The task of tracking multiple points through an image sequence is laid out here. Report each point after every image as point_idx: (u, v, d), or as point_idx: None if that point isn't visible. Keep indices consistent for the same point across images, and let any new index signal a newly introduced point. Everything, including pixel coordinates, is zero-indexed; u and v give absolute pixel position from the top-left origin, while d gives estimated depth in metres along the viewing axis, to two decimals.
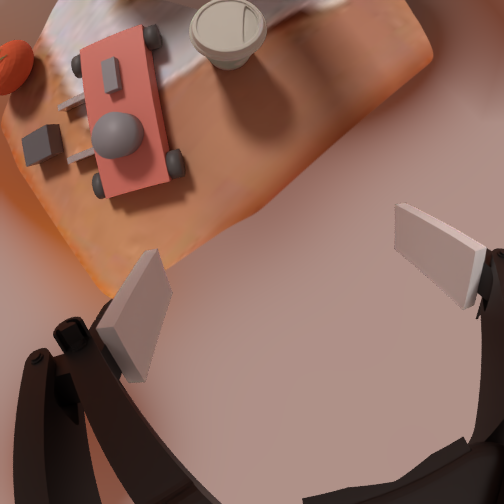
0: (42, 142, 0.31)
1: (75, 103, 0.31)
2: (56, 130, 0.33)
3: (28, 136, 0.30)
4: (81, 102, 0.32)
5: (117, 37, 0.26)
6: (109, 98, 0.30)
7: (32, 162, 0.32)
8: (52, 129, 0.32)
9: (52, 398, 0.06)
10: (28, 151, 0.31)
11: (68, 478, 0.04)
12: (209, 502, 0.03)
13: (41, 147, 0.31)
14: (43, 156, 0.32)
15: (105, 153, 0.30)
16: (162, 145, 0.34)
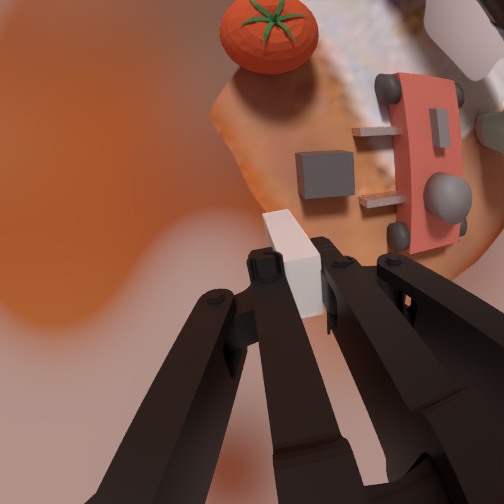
0: (342, 174, 0.30)
1: None
2: None
3: (318, 156, 0.29)
4: None
5: (436, 82, 0.25)
6: (432, 150, 0.29)
7: (318, 196, 0.31)
8: None
9: (220, 348, 0.07)
10: (314, 178, 0.30)
11: (200, 438, 0.05)
12: (354, 459, 0.03)
13: (340, 180, 0.30)
14: (341, 193, 0.31)
15: (449, 218, 0.28)
16: None
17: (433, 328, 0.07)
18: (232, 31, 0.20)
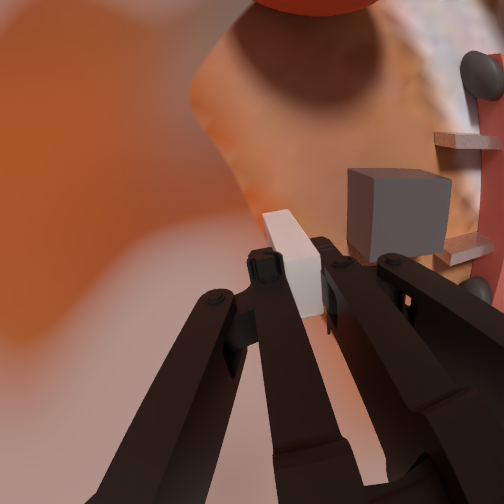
0: (432, 217, 0.15)
1: None
2: None
3: (400, 183, 0.14)
4: None
5: None
6: None
7: None
8: None
9: (221, 347, 0.07)
10: (389, 224, 0.15)
11: (200, 438, 0.05)
12: (354, 459, 0.03)
13: (427, 229, 0.15)
14: (425, 251, 0.16)
15: None
16: None
17: (433, 328, 0.07)
18: None
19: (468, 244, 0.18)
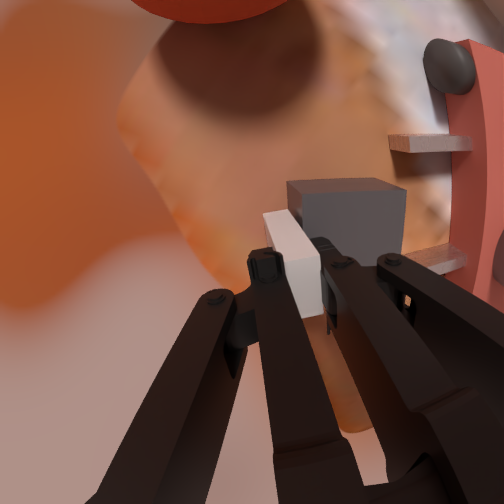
0: (382, 234, 0.14)
1: None
2: None
3: (336, 198, 0.13)
4: None
5: None
6: None
7: None
8: None
9: (221, 347, 0.07)
10: None
11: (200, 438, 0.05)
12: (354, 459, 0.03)
13: (375, 247, 0.14)
14: None
15: None
16: None
17: (433, 328, 0.07)
18: None
19: (433, 259, 0.18)
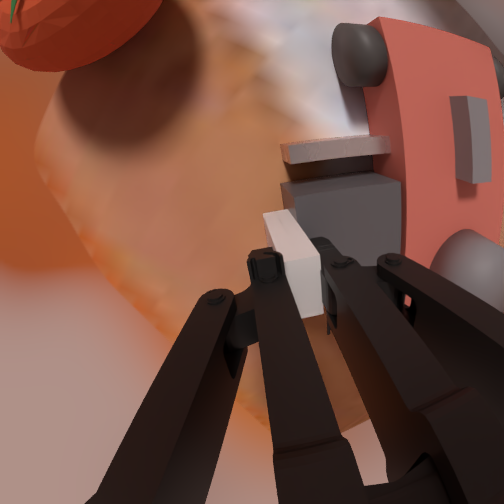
0: (379, 228, 0.14)
1: None
2: None
3: (329, 197, 0.13)
4: None
5: (460, 46, 0.10)
6: (454, 187, 0.13)
7: None
8: None
9: (221, 347, 0.07)
10: None
11: (200, 438, 0.05)
12: (354, 459, 0.03)
13: (374, 242, 0.14)
14: None
15: None
16: None
17: (433, 328, 0.07)
18: None
19: None
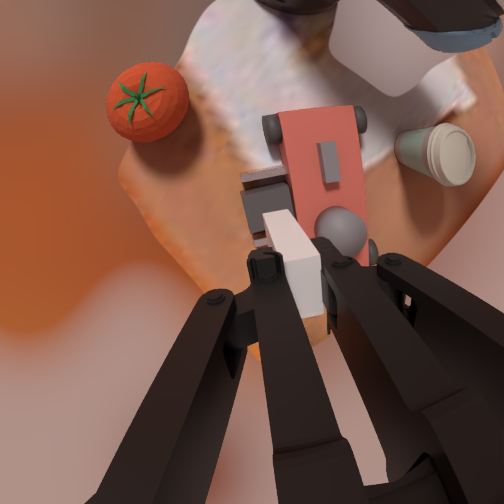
0: (281, 206, 0.35)
1: None
2: None
3: (255, 195, 0.35)
4: None
5: (327, 112, 0.31)
6: (322, 186, 0.35)
7: (262, 229, 0.36)
8: None
9: (221, 347, 0.07)
10: (255, 214, 0.36)
11: (200, 438, 0.05)
12: (353, 459, 0.03)
13: None
14: None
15: None
16: (366, 239, 0.38)
17: (433, 328, 0.07)
18: (110, 114, 0.26)
19: None
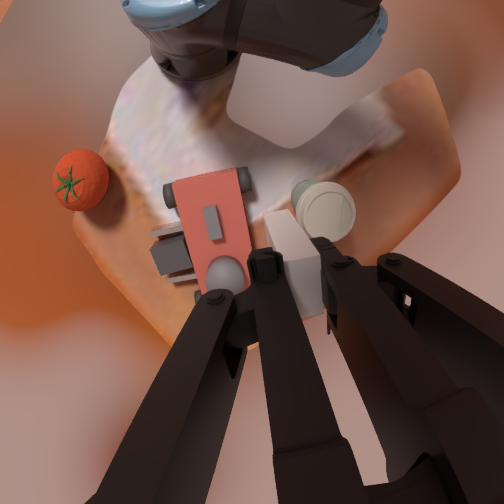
0: (179, 255, 0.45)
1: None
2: None
3: (159, 248, 0.45)
4: None
5: (212, 180, 0.41)
6: (210, 240, 0.44)
7: (168, 272, 0.46)
8: (185, 241, 0.46)
9: (220, 347, 0.07)
10: (161, 262, 0.46)
11: (200, 438, 0.05)
12: (354, 459, 0.03)
13: (179, 260, 0.46)
14: (182, 268, 0.46)
15: None
16: None
17: (433, 328, 0.07)
18: (54, 193, 0.36)
19: (180, 274, 0.49)
